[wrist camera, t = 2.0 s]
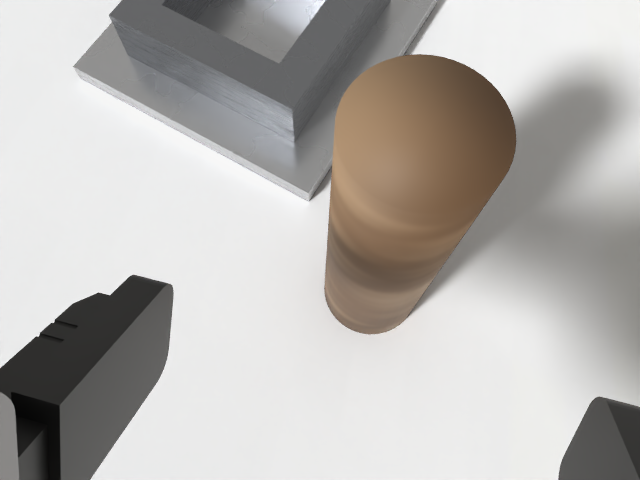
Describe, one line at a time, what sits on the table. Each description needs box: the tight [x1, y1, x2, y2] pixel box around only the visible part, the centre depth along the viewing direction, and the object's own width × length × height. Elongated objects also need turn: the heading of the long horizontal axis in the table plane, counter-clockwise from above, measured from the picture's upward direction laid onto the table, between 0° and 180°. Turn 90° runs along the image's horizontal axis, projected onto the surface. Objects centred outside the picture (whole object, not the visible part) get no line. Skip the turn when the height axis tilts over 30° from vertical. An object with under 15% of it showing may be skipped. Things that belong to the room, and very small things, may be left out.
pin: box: [324, 54, 516, 334], centre depth 17 cm, size 4×4×12 cm
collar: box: [73, 0, 437, 201], centre depth 25 cm, size 12×12×3 cm
